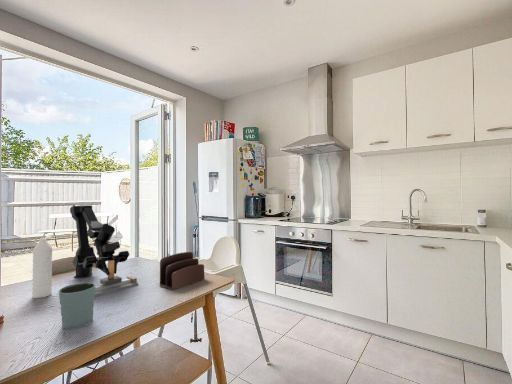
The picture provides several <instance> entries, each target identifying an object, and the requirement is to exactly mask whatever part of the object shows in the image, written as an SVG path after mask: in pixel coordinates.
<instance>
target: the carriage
mask: <svg viewBox="0 0 512 384" xmlns="http://www.w3.org/2000/svg"><path fill="white" fill-rule="evenodd" d="M107 268H108V270H109V275H107V277H103V278H100V279H99V280H100V281H99V282H100V285H104V286H108V285H112V284H117V283H121V282H122V280H123V278H122V277H120V276H119V275H115V273H114V260H109V261H107Z"/></svg>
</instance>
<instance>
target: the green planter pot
mask: <svg viewBox="0 0 512 384" xmlns="http://www.w3.org/2000/svg"><path fill="white" fill-rule="evenodd" d="M95 287H96V284H95V283H94V282H78V283H73V284H70V285H66V286H64V287H62V288H60V289H59V290H58V296H59V297H58V298H59V304H60V313H61V314H60V315H61V327H62V328H63V329H65V330H73V329H74V330H75V329H78V328H82V327H85V326H87V325H89V324H91V323H92V321H93V319H94V306H95V305H94V304H95V297H94V295H95Z"/></svg>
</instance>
